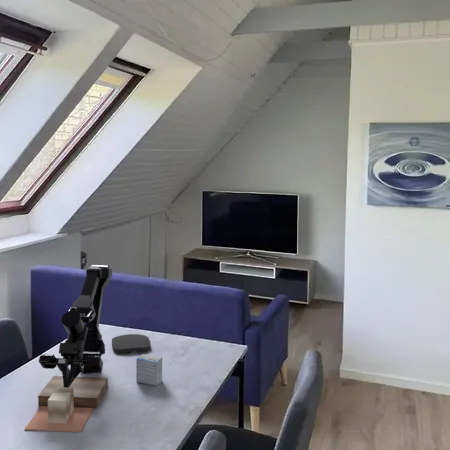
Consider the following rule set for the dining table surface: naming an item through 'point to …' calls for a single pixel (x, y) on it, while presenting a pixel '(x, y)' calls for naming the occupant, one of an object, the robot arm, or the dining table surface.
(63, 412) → the birch block
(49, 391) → the oak plinth
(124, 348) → the media streaming box
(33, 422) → the terracotta mat
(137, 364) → the medicine box
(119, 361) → the dining table surface
